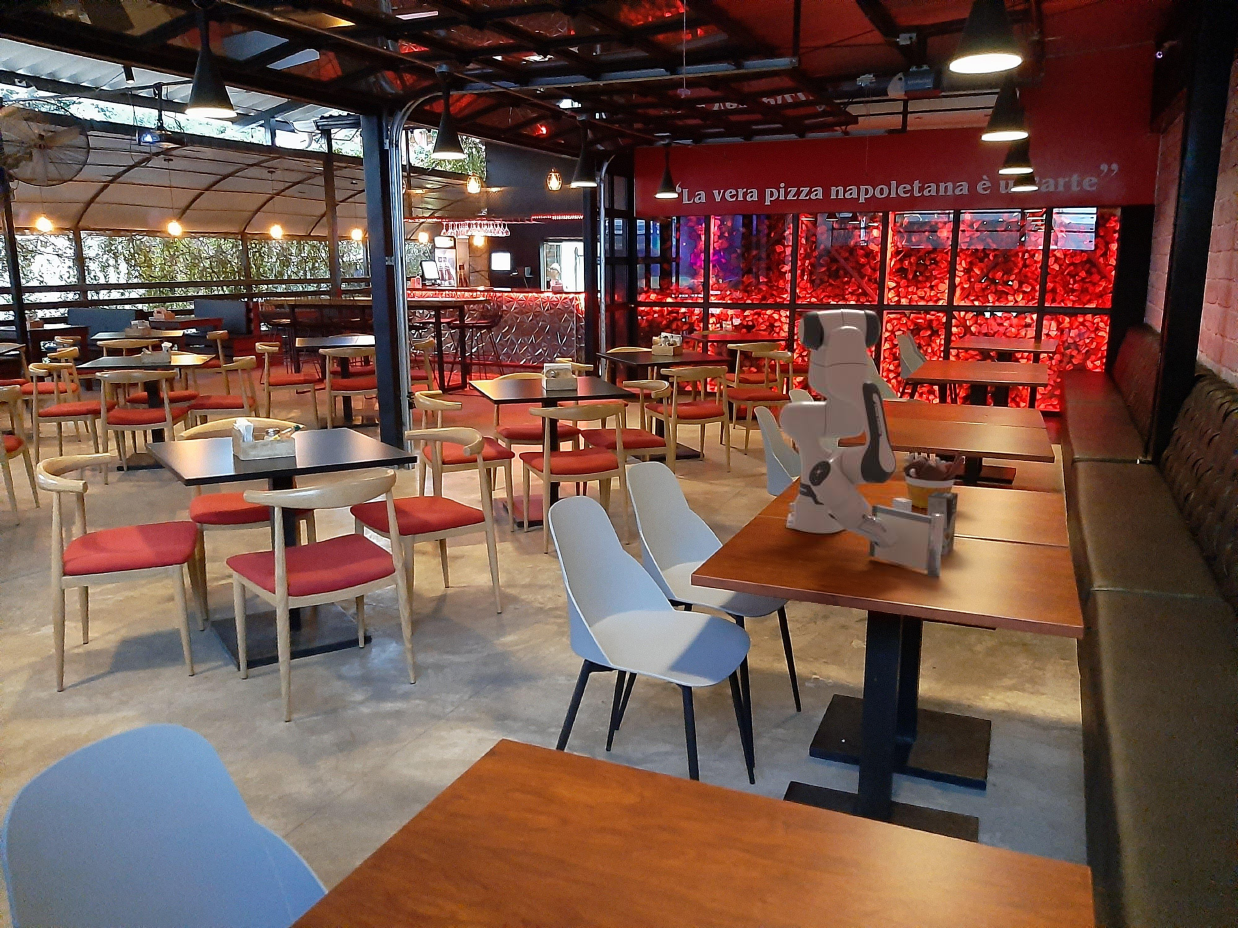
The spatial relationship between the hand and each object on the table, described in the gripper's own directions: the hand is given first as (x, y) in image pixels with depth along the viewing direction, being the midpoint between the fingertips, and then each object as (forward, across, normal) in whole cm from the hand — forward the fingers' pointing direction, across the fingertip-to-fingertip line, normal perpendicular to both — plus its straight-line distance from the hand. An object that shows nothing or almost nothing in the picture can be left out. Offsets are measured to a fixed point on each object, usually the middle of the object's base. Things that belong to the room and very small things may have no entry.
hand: (881, 544), depth 239 cm
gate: (+5, -3, +1) cm, 6 cm away
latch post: (+10, +4, -3) cm, 11 cm away
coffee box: (+21, +6, -13) cm, 25 cm away
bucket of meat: (+44, +50, -38) cm, 77 cm away
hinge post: (+8, -13, -1) cm, 16 cm away
